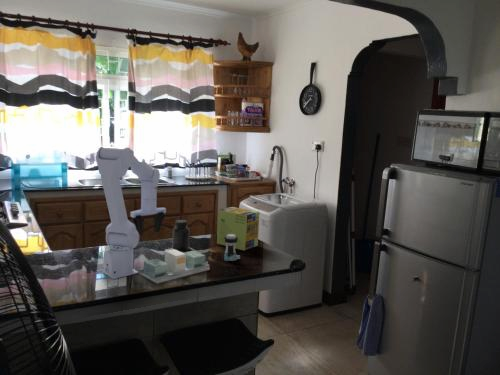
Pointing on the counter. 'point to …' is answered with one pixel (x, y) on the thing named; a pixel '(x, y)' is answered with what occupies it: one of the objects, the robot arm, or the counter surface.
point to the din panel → (161, 273)
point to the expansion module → (175, 260)
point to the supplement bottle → (180, 236)
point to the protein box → (238, 227)
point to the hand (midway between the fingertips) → (148, 233)
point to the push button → (230, 247)
